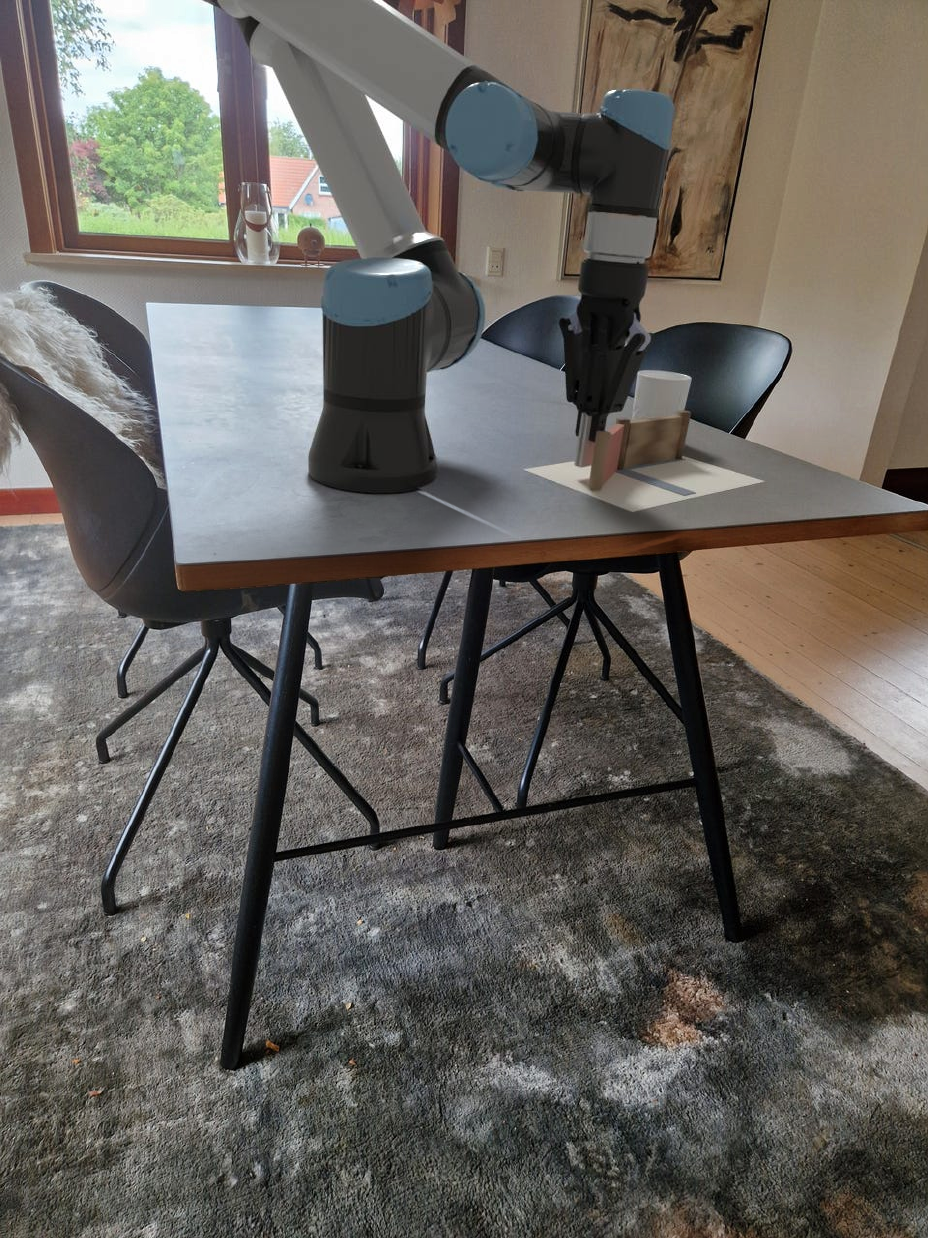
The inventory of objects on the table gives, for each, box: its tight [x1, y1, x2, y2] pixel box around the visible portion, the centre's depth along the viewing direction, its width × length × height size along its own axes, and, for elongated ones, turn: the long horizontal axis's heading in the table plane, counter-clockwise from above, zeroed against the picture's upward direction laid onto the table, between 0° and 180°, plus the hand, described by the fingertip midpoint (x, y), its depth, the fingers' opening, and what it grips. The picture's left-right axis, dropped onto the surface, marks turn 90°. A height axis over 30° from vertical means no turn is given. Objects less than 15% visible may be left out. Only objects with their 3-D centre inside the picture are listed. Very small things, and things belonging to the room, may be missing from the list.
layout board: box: [522, 455, 766, 513], centre depth 102 cm, size 27×18×1 cm, turn 129°
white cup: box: [631, 369, 693, 421], centre depth 119 cm, size 8×8×10 cm
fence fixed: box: [615, 410, 692, 470], centre depth 106 cm, size 15×2×6 cm, turn 129°
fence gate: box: [588, 423, 624, 489], centre depth 96 cm, size 10×2×7 cm, turn 157°
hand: (584, 464), depth 98 cm, fingers closed
